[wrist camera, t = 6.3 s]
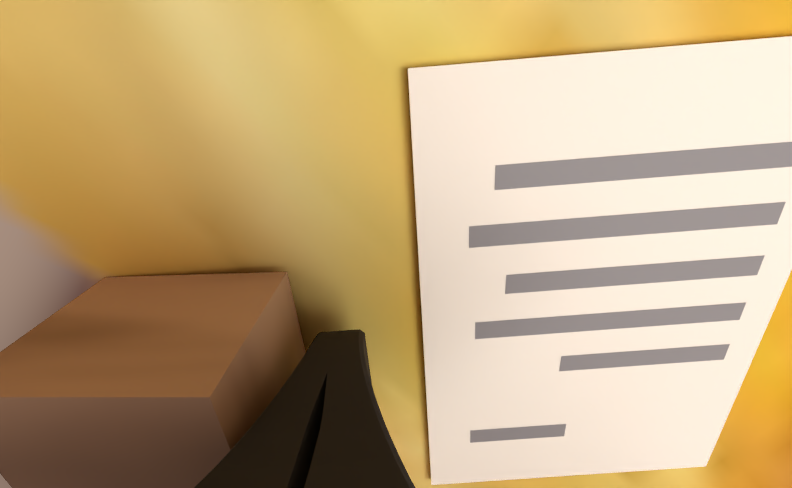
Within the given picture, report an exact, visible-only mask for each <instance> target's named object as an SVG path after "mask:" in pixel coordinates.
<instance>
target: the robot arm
mask: <svg viewBox="0 0 792 488" xmlns="http://www.w3.org/2000/svg"><path fill="white" fill-rule="evenodd" d="M194 488H415V486H414V485H413V483H412V481H411V479H410V477H409V475H408V473H407V471H406V469H405V467H404V465H403V463H402V461H401V459H400V457H399V455H398V452H397V450H396V448H395V446H394V444H393V441H392V439H391V437H390V435H389V432H388V430H387V427H386V425H385V422H384V420H383V417H382V414H381V412H380V409H379V406H378V404H377V401H376V398H375V395H374V391H373V388H372V384H371V376H370V369H369V362H368V355H367V347H366V340H365V333H364V332H363V331H361V330H346V331H332V332H320V333H319V334H318V335H317V336H316V338H315V339H314V341H313V342H312V344H311V345H310V347H309V349H308V350H307V352H306V353H305V355H304V356H303V358H302V359H301V361H300V362H299V364H298V365H297V367H296V368H295V370H294V371H293V372H292V374H291V375H290V377H289V378H288V379H287V381H286V382H285V384H284V385H283V386H282V388H281V389H280V390H279V392H278V393H277V395H276V396H275V397H274V399H273V400H272V401H271V402H270V404H269V405H268V406H267V407H266V409H265V410H264V411H263V412H262V414H261V415H260V416H259V417H258V419H257V420H256V421H255V422H254V424H253V425H252V426H251V427H250V428H249V430H248V431H247V432H246V433H245V434H244V435H243V437H242V438H241V439H240V440H239V441H238V442H237V443H236V445H235V446H234V447H233V448H232V449H231V450H230V451H229V452H228V453H227V454H226V455H225V457H224V458H223V459H222V460H221V461H220V462H219V463H218V464H217V465H216V466H215V467H214V468H213V469H212V470H211V471H210V472H209V473H208V474H207V475H206V476H205V477H204V478H203V479H202V480H201V481H200V482H199V483H198V484H197V485H196V486H195V487H194Z"/></svg>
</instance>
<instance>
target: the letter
mask: <svg viewBox="0 0 792 488" xmlns="http://www.w3.org/2000/svg"><path fill="white" fill-rule="evenodd" d="M408 86H409V103H410V121H411V138H412V156H413V173H414V191H415V208H416V226H417V243H418V261H419V278H420V296H421V313H422V331H423V348H424V366H425V383H426V401H427V418H428V436H429V453H430V471H431V484H432V485H438V484H453V483H467V482H482V481H497V480H512V479H526V478H541V477H556V476H571V475H585V474H600V473H615V472H630V471H644V470H659V469H674V468H689V467H703V466H706V465H707V463H708V460H709V458H710V456H711V453H712V451H713V449H714V447H715V444H716V442H717V440H718V437H719V435H720V433H721V430H722V428H723V426H724V424H725V421H726V419H727V417H728V414H729V412H730V410H731V408H732V405H733V403H734V401H735V398H736V396H737V394H738V391H739V389H740V387H741V385H742V382H743V380H744V378H745V375H746V373H747V371H748V369H749V366H750V364H751V362H752V359H753V357H754V355H755V352H756V350H757V348H758V346H759V343H760V341H761V339H762V336H763V334H764V332H765V330H766V327H767V325H768V323H769V320H770V318H771V316H772V313H773V311H774V309H775V307H776V304H777V302H778V300H779V297H780V295H781V293H782V291H783V288H784V286H785V284H786V281H787V279H788V277H789V274H790V272H791V270H792V36H785V37H773V38H761V39H749V40H737V41H725V42H713V43H701V44H689V45H678V46H666V47H654V48H642V49H630V50H618V51H606V52H594V53H582V54H570V55H559V56H547V57H535V58H523V59H511V60H499V61H487V62H475V63H463V64H452V65H440V66H428V67H416V68H408Z"/></svg>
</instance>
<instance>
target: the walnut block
mask: <svg viewBox="0 0 792 488" xmlns="http://www.w3.org/2000/svg"><path fill="white" fill-rule="evenodd" d="M305 353H306V352H305V348H304V344H303V339H302V335H301V330H300V326H299V322H298V317H297V313H296V309H295V304H294V300H293V295H292V291H291V287H290V282H289V278H288V273H287V272H262V273H228V274H195V275H162V276H128V277H105V278H103V279H102V280H101V281H99V282H98V283H96V284H95V285H94V286H92V287H91V288H89V289H88V290H87V291H85V292H84V293H82V294H81V295H80V296H78V297H77V298H75V299H74V300H73V301H71V302H70V303H68V304H67V305H66V306H64V307H63V308H61V309H60V310H59V311H57V312H56V313H54V314H53V315H52V316H50V317H49V318H47V319H46V320H45V321H43V322H42V323H40V324H39V325H38V326H36V327H35V328H33V329H32V330H30V331H29V332H28V333H26V334H25V335H24V336H22V337H21V338H19V339H18V340H17V341H15V342H14V343H12V344H11V345H9V346H8V347H7V348H6V349H4V350H3V351H1V352H0V474H1V475H2V476H3V477H4V479H5V480H6V481H7V482H8V483H9V485H10V486H11V487H12V488H194V487H195V486H196V485H197V484H198V483H199V482H200V481H201V480H202V479H203V478H204V477H205V476H206V475H207V474H208V473H209V472H210V471H211V470H212V469H213V468H214V467H215V466H216V465H217V464H218V463H219V462H220V461H221V460H222V459H223V458H224V457H225V455H226V454H227V453H228V452H229V451H230V450H231V449H232V448H233V447H234V446H235V445H236V443H237V442H238V441H239V440H240V439H241V438H242V437H243V435H244V434H245V433H246V432H247V431H248V430H249V428H250V427H251V426H252V425H253V424H254V422H255V421H256V420H257V419H258V417H259V416H260V415H261V414H262V412H263V411H264V410H265V409H266V407H267V406H268V405H269V404H270V402H271V401H272V400H273V399H274V397H275V396H276V395H277V393H278V392H279V390H280V389H281V388H282V386H283V385H284V384H285V382H286V381H287V379H288V378H289V377H290V375H291V374H292V372H293V371H294V370H295V368H296V367H297V365H298V364H299V362H300V361H301V359H302V358H303V356H304V355H305Z"/></svg>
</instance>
